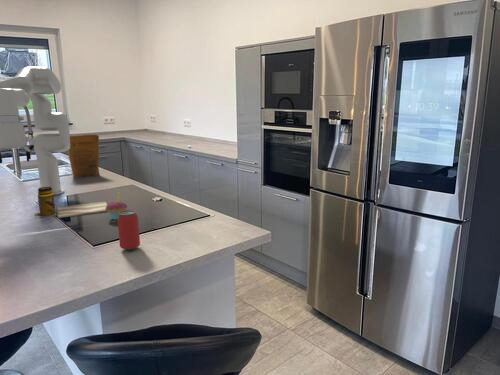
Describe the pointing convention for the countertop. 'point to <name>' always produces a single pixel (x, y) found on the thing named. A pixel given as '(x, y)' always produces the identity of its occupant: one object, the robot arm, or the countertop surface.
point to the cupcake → (116, 208)
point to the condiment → (46, 203)
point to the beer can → (128, 229)
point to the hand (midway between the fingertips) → (14, 162)
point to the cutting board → (81, 209)
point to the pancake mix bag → (84, 155)
